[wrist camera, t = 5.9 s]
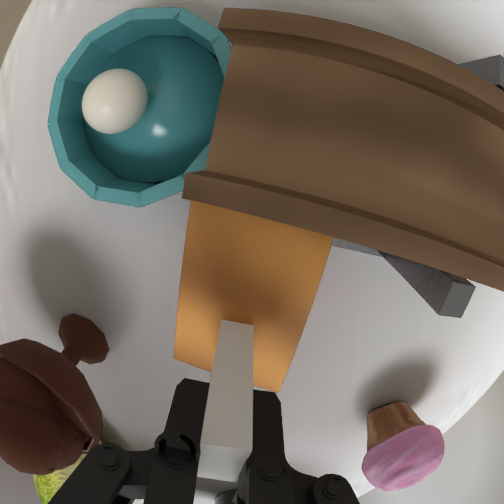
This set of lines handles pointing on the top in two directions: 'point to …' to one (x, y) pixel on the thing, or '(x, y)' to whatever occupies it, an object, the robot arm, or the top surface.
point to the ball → (114, 101)
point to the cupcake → (400, 447)
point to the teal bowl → (157, 110)
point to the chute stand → (425, 277)
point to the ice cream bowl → (49, 399)
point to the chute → (332, 176)
